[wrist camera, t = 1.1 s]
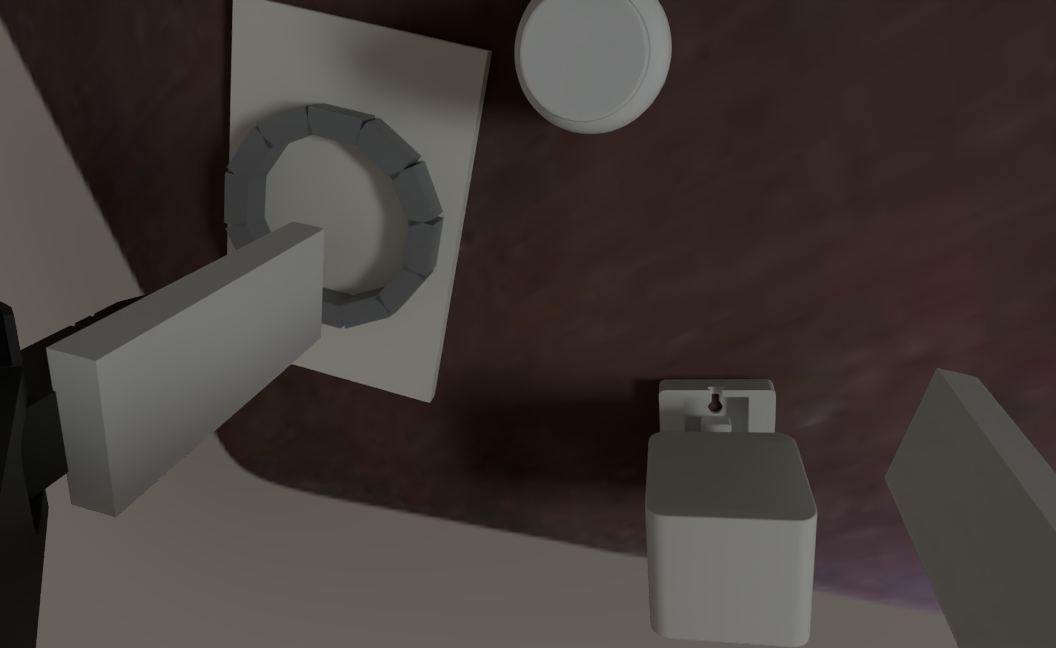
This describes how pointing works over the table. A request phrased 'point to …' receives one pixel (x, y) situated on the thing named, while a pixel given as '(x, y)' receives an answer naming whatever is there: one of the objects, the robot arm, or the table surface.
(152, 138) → the table surface
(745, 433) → the security camera
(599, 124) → the supplement bottle
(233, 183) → the socket board
